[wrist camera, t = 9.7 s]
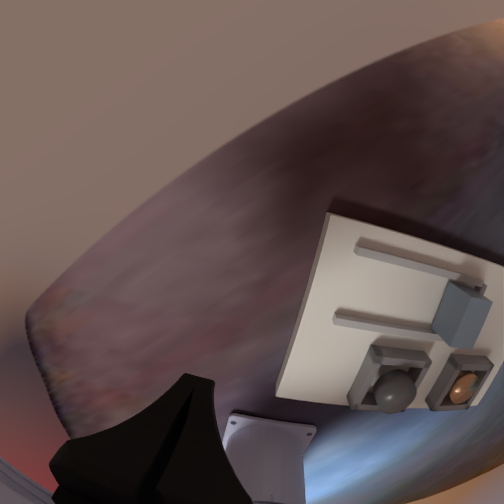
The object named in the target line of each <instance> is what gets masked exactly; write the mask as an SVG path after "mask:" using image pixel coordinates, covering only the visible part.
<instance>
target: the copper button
mask: <svg viewBox="0 0 504 504" xmlns="http://www.w3.org/2000/svg"><path fill="white" fill-rule="evenodd" d="M478 385H479V378H478V377H477V376H476V375H475V374H474V372H473V371H472V370H460V372H459V374H458V376H457V378H456V379H455V381H454V383H453V384H452V386H451V388H450V390H449V391H448V393H447V394H448V396H449V397H450V399H451V400H452V402H453V403H455V404H459V403H462V402H464V401H466V400H467V399H469V398H470V397H471V396H472V395H473V394H474V392H475V391H476V389H477V388H478Z"/></svg>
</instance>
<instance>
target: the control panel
mask: <svg viewBox="0 0 504 504" xmlns="http://www.w3.org/2000/svg"><path fill="white" fill-rule="evenodd" d="M449 282H453V283H457V284H460V285H464V286H468V287H471V288H473V289H474V290H476V291H477V292H479V293H480V294H482V295H483V296H485V297H486V298H488V299H489V300H491V301H492V302H493V303H492V306H491V308H490V311H489V313H488V315H487V318H486V320H485V322H484V325H483V327H482V329H481V332H480V334H479V336H478V338H477V340H476V342H475V344H474V346H473V348H472V349H465V348H454V347H449V346H448V345H447V344H446V343H445V341H444V340H443V339H442V338H441V337H440V336H439V335H438V334H437V333H436V332H435V331H434V330H433V328H432V327H431V326H432V324H433V322H434V319H435V317H436V314H437V312H438V309H439V307H440V304H441V302H442V299H443V297H444V294H445V291H446V288H447V286H448V283H449ZM503 361H504V266H502V265H499V264H497V263H494V262H491V261H488V260H485V259H483V258H480V257H477V256H474V255H471V254H468V253H465V252H462V251H459V250H456V249H453V248H450V247H447V246H444V245H441V244H438V243H435V242H431V241H428V240H425V239H422V238H419V237H415V236H412V235H409V234H405V233H402V232H399V231H395V230H392V229H388V228H385V227H381V226H378V225H374V224H370V223H367V222H363V221H360V220H356V219H352V218H348V217H345V216H341V215H337V214H333V213H329V212H326V216H325V220H324V224H323V228H322V232H321V236H320V240H319V243H318V247H317V251H316V255H315V258H314V262H313V266H312V269H311V273H310V277H309V280H308V284H307V287H306V291H305V294H304V297H303V301H302V304H301V308H300V311H299V314H298V317H297V321H296V324H295V327H294V330H293V334H292V337H291V340H290V343H289V346H288V349H287V352H286V355H285V358H284V361H283V364H282V367H281V370H280V373H279V376H278V379H277V382H276V394H275V396H276V397H282V398H288V399H295V400H302V401H309V402H317V403H326V404H336V405H347V406H349V408H350V409H351V410H367V411H380V410H379V408H378V405H377V402H376V400H375V397H374V395H373V386H374V384H375V382H376V381H377V380H378V379H379V378H380V377H381V376H382V375H383V374H385V373H387V372H389V371H392V370H396V369H400V370H404V371H406V372H407V373H408V375H409V376H410V378H411V380H412V381H413V383H414V385H415V386H416V388H417V394H416V397H415V399H414V400H413V402H412V403H411V404H410V405H409V406H408V407H406V408H429V409H430V411H448V410H462V409H468V408H469V407H470V406H475V405H478V403H479V402H480V400H481V399H482V397H483V396H484V394H485V392H486V391H487V389H488V388H489V386H490V384H491V383H492V381H493V379H494V377H495V376H496V374H497V372H498V370H499V368H500V367H501V365H502V363H503ZM460 370H472V371H473V372H474V374H475V375H476V376H477V377H478V378H479V385H478V388H477V389H476V391H475V392H474V394H473V395H472V396H471V397H470V398H469V399H467V400H466V401H464V402H462V403H459V404H455V403H453V402H452V400H451V399H450V397H449V396H448V394H447V393H448V391H449V390H450V388H451V386H452V384H453V383H454V381H455V379H456V378H457V376H458V374H459V372H460ZM406 408H405V409H406ZM405 409H403V410H401V411H399V412H404V411H405Z"/></svg>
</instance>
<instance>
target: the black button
mask: <svg viewBox="0 0 504 504" xmlns="http://www.w3.org/2000/svg"><path fill="white" fill-rule="evenodd" d="M416 394H417V388H416V386H415V385H414V383H413V381H412V380H411V378H410V376H409V375H408V373H407V372H406V371H404V370H400V369H396V370H392V371H389V372H387V373H385V374H383V375H382V376H381V377H380V378H379V379H378V380H377V381H376V382H375V384H374V386H373V395H374V397H375V400H376V402H377V405H378V408H379V410H380V411H381V412H383V413H387V414H392V413H396V412H399V411H401V410H403V409H405V408H406V407H408V406H409V405H410V404H411V403H412V402H413V400H414V399H415V397H416Z"/></svg>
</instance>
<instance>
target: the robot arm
mask: <svg viewBox="0 0 504 504" xmlns="http://www.w3.org/2000/svg"><path fill="white" fill-rule="evenodd" d="M214 386H215V382H214V381H213V380H210V379H206V378H202V377H198V376H194V375H191V374H187V373H185V374H183V375H182V376H181V377H180V378H179V380H178V381H177V382H176V383H175V384H174V385H173V386H172V387H171V388H170V389H169V390H168V391H167V392H165V393H164V394H163V395H162V396H161V397H160V398H159V399H157V400H156V401H155V402H153V403H152V404H151V405H149V406H148V407H147V408H145V409H144V410H143V411H141V412H140V413H138V414H136V415H135V416H133V417H131V418H130V419H128V420H126V421H124V422H122V423H120V424H118V425H116V426H114V427H111V428H109V429H106V430H104V431H101V432H98V433H95V434H92V435H89V436H85V437H81V438H77V439H72V440H68V441H66V443H64V444H63V445H62V446H61V447H60V449H59V450H58V451H57V452H56V454H55V455H54V457H53V458H52V459H51V461H50V463H49V467H50V470H51V472H52V474H53V476H54V477H55V479H56V481H57V482H58V484H59V486H58V488H57V489H56V491H55V493H52V492H50V491H49V490H47V489H46V488H44V487H42V486H41V485H39V484H38V483H36V482H35V481H33V480H32V479H30V478H29V477H27V476H26V475H24V474H23V473H21V472H20V471H19V470H17V469H16V468H15V467H13V466H12V465H11V464H9V463H8V462H7V461H5V460H4V459H3V458H2V457H0V504H306V500H305V482H304V465H303V454H304V452H305V451H306V449H307V447H308V445H309V444H310V442H311V440H312V438H313V437H314V435H315V433H316V431H317V428H316V426H314V425H306V424H298V423H290V422H283V421H276V420H270V419H264V418H258V417H252V416H247V415H242V414H237V413H232V414H230V415H229V419H228V423H227V426H226V430H225V434H224V438H223V441H221V438H220V434H219V430H218V426H217V421H216V416H215V409H214ZM233 421H235V422H233Z"/></svg>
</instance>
